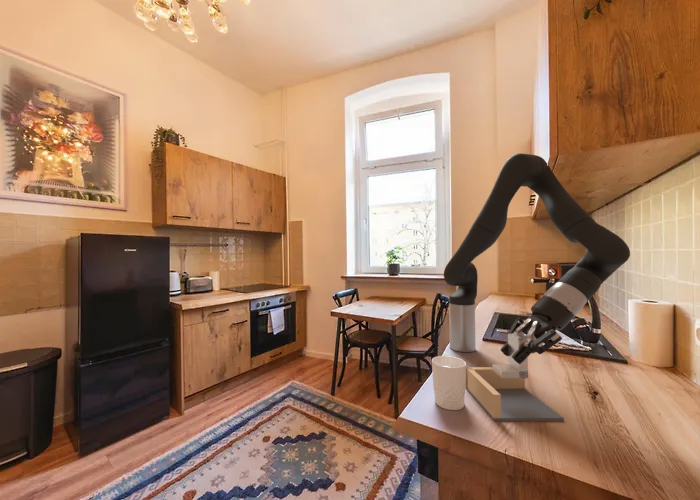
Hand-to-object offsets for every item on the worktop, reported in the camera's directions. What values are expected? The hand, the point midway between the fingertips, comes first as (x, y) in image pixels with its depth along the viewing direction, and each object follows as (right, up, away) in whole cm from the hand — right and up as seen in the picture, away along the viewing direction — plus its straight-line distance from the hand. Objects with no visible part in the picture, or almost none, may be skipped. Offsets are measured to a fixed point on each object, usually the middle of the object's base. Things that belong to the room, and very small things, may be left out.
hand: (509, 356), depth 67 cm
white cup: (-14, -12, +1) cm, 18 cm away
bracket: (0, -4, 0) cm, 4 cm away
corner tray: (0, -11, +1) cm, 11 cm away
